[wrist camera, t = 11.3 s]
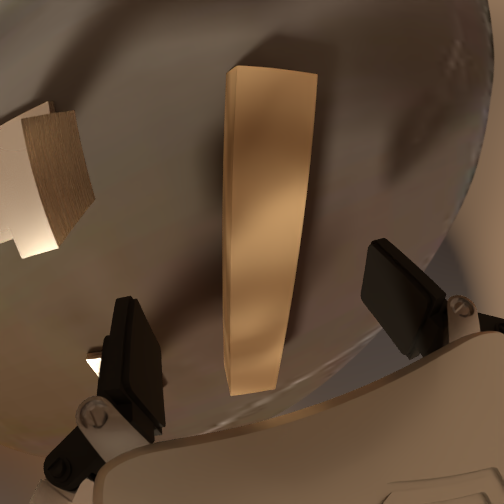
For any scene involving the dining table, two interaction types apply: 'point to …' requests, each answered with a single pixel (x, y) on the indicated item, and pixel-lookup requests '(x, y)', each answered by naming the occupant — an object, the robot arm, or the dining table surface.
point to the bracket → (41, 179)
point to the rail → (262, 215)
